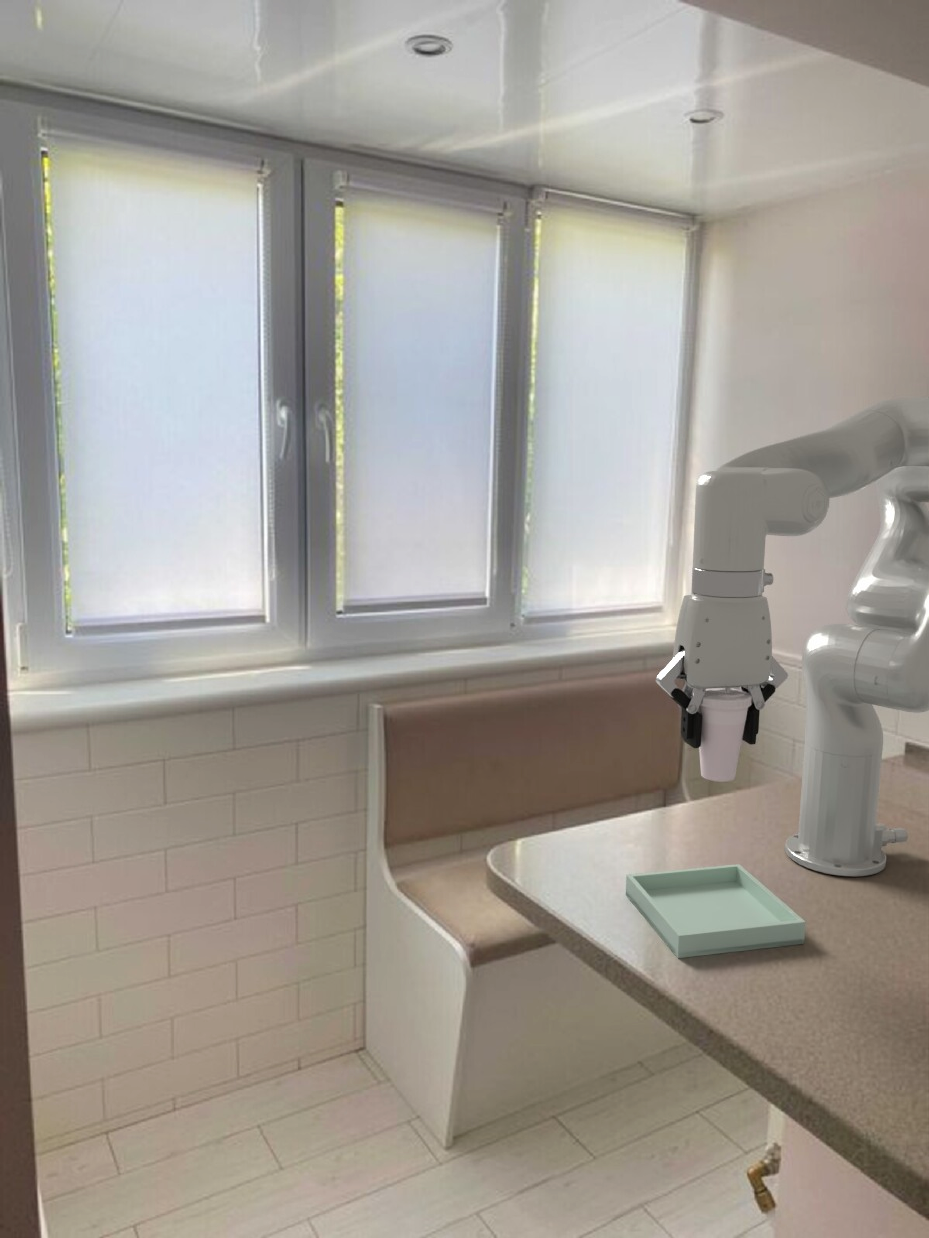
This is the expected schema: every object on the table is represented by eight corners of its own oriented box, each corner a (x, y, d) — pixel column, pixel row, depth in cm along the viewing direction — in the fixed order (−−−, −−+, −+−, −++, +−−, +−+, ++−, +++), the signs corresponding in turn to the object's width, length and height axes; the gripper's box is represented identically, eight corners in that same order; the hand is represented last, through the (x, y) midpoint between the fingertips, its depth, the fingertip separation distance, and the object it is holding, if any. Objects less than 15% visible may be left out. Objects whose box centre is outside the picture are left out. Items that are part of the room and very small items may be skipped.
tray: (737, 883, 118) (739, 863, 117) (804, 943, 103) (805, 921, 103) (625, 894, 114) (626, 874, 114) (677, 958, 100) (678, 935, 100)
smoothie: (749, 787, 102) (757, 663, 100) (689, 783, 103) (695, 660, 101) (744, 768, 108) (751, 651, 106) (687, 764, 110) (693, 648, 107)
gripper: (780, 578, 107) (771, 728, 111) (639, 582, 104) (634, 737, 107) (817, 587, 100) (806, 748, 103) (667, 591, 97) (660, 758, 100)
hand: (719, 741), depth 105 cm, fingers closed on smoothie, 6 cm apart
